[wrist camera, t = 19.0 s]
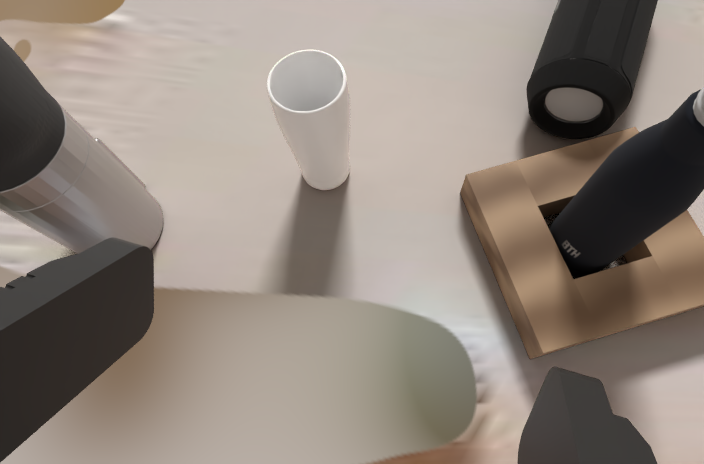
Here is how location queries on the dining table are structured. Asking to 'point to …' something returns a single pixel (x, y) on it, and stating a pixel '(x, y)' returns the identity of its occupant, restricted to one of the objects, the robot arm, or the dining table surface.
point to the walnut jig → (549, 266)
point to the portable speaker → (588, 65)
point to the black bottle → (634, 191)
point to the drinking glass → (313, 114)
